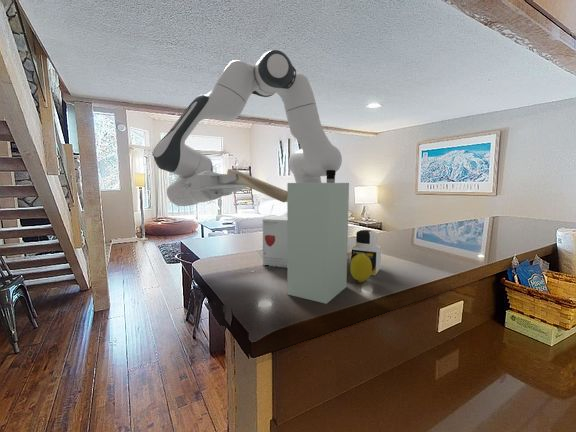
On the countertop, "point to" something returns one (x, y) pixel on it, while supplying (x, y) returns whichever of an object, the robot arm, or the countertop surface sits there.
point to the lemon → (361, 267)
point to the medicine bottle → (368, 248)
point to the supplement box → (275, 241)
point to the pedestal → (317, 240)
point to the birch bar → (260, 186)
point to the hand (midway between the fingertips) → (241, 176)
